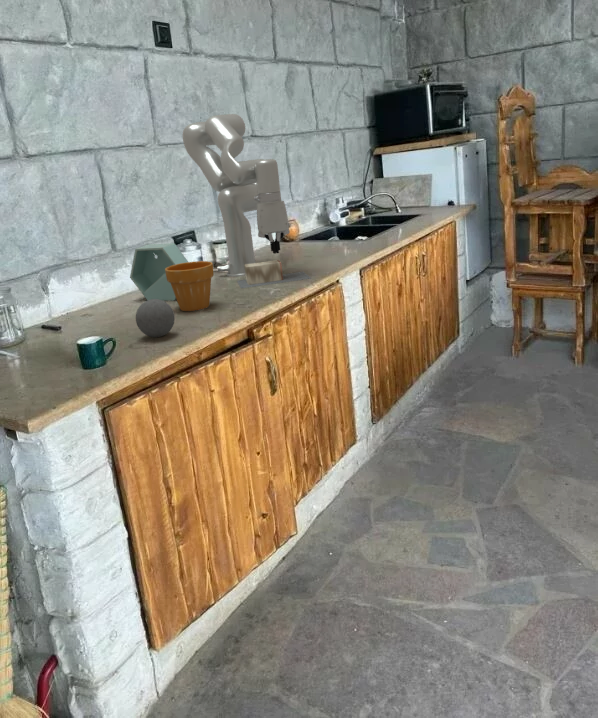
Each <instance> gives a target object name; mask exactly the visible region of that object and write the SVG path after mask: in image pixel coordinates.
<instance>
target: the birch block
mask: <svg viewBox="0 0 598 718" xmlns="http://www.w3.org/2000/svg"><path fill="white" fill-rule="evenodd" d="M244 267H245V275H246V276H245V280H246V282H247V283H248V285H251V284H258V283H265V282H272V281H280V280H283V265H282V262H281V260H279V259H274V260H267V261H262V262H261V261H259V262H255V263H252V264H245V265H244Z"/></svg>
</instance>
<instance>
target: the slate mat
mask: <svg viewBox="0 0 598 718" xmlns="http://www.w3.org/2000/svg"><path fill="white" fill-rule="evenodd" d="M282 274H283V273H282ZM311 279H312V277H310V275H308V274H307V273H306V272H305V271H298V272H291V273H284V274H283V280H280V281H272V282H265V283H258V284H251V285H248V283H247V282H246V279H240V280H236V283H237V284H238V286H239V288H240V289H247V288H254V287H261V286H268V285H274V284H283V283H289V282H298V281H305V280H311Z"/></svg>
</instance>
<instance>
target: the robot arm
mask: <svg viewBox="0 0 598 718" xmlns="http://www.w3.org/2000/svg"><path fill="white" fill-rule="evenodd" d="M245 133H246V123H245V121H244V120H243V118H242V116H240V115H239V114H237V113H229V114H218V115H216V114H215V115H213V116H210V117H208V118H207V119H206V121H198V122H196V121H195V122H192V123H190V124H188V125H186V126H185V127H184V128H183V131H182V142H183V145H184V148H185V151H186V153H187V154H188V156H189V157H190V158H191V160H192V161H193V162H194V163H195V164H196V165H197V166H198V167H199V168H200V170H201V172H202V174H203V175H204V177H205V178H206V180H207V182H208V183H209V184H210V186H211V188H212V189H213V190H214V191H215V192H218V195H217V203H218V207H219V209H220V214H221V217H222V221H223V227H224V233H225V234H224V235H225V242H226V248H227V255H228V262H227V264H225V265H219V266H217V267H216V268H217V272H218V273H219V272H226V276H227V277H234V278H235V277H244V276H245V277H246V275H245V267H244V265H245V264H252V263H256V260H255V252H254V250H255V249H254V245H253V244H254V242H253V235H252V233H253V232H252V227H251V223H250V221H249V220H248V217H246V215H245V214H244V213H247V212H254V211H256V224H257V230H258V232H257V233H258V234H257V236H258V238H261V239H262V238H263V239H266V240H267V241H269V244H270V251H271V252H272V253H273V254H280V251H281V243H280V241H281V240H282V238H283V237H284V236H286V235H289V234H290V226H289V224H290V223H289V217H288V212H287V208H286V203H285V201H284V200H282V194H281V184H280V177H279V176H280V175H279V167H278V166H279V165H278V162H277V160H276V159H274V158H269V159H263V158H257V159H249V160H248V159H247V160H241V161H237V160H236V159H235V158H236V157H238V156H239V155H240V154H241V153H242V152H243V149H244V147H245V141H244V139H243V136H244V135H245ZM209 146H216V147H217V148H218V150H219V151H220V152H221V155H219V153H218V152H216V151H215V150H213V149H212V148H210V147H209ZM273 234H275V239H274V237H273Z"/></svg>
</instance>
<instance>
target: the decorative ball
mask: <svg viewBox="0 0 598 718" xmlns="http://www.w3.org/2000/svg"><path fill="white" fill-rule="evenodd" d="M175 321H176V320H175V313H174V310H173V307H172V306H170V304H168V303H167V302H166V301H162V300H159V299H151V300H147V299H146V300H145V301H144V302H142V303H141V304H140V305H139V307H138V309H137V311H136V313H135V323H136V326H137V327H138V329H139V330H140V332H141V333H142V334H143V335H145V336H147V337H151V338H159V337H164V336H165V335H167V334H169V332H170V331H171V330H172V329H173V327H174V325H175Z"/></svg>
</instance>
